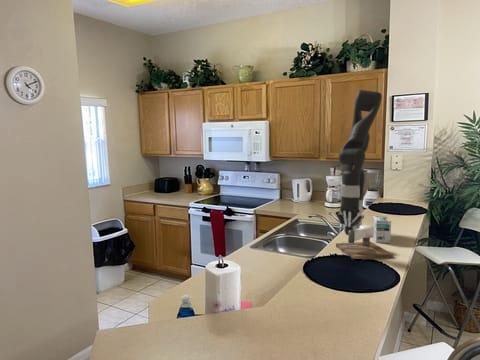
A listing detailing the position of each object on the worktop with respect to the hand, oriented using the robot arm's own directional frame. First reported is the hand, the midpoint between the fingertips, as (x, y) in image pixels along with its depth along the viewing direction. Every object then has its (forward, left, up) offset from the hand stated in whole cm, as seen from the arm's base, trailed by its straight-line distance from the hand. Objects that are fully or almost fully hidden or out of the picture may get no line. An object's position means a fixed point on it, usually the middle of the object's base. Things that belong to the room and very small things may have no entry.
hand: (348, 234), depth 150 cm
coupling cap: (0, +5, -2) cm, 6 cm away
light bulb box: (-15, +24, -8) cm, 29 cm away
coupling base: (+1, +6, -8) cm, 10 cm away
